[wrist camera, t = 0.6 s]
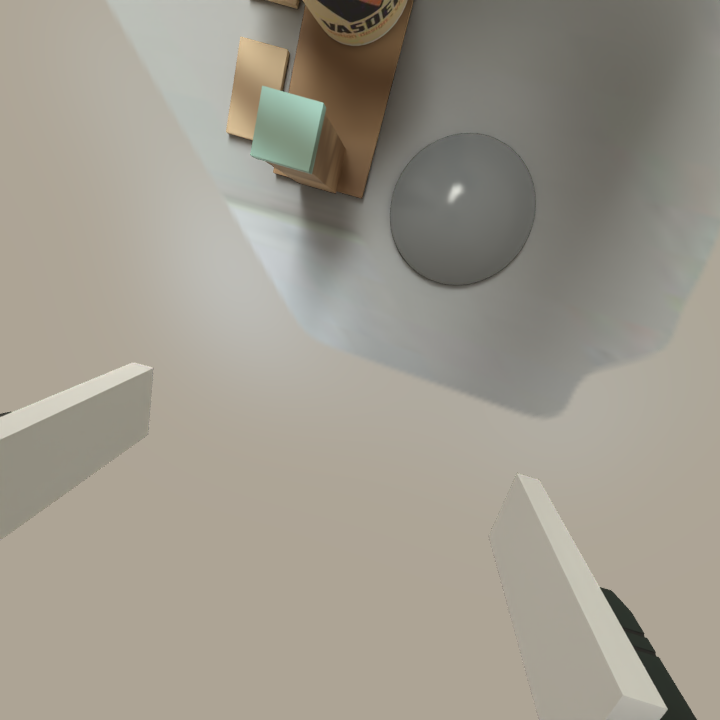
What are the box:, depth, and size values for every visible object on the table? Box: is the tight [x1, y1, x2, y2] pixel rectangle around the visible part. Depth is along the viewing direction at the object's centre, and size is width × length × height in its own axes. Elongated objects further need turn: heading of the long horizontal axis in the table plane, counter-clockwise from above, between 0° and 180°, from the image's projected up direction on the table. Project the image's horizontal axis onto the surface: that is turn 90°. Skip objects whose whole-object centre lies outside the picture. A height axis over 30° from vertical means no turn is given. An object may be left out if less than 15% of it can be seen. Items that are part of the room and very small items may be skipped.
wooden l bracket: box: [250, 0, 414, 199], centre depth 25 cm, size 19×8×10 cm, turn 164°
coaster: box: [390, 133, 536, 285], centre depth 32 cm, size 12×12×1 cm
